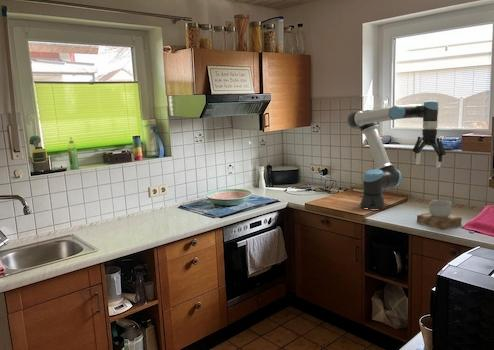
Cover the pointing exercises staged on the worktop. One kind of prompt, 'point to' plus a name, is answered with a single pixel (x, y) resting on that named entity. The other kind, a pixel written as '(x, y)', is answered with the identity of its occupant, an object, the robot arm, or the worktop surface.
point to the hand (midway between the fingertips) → (427, 165)
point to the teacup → (440, 208)
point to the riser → (439, 221)
